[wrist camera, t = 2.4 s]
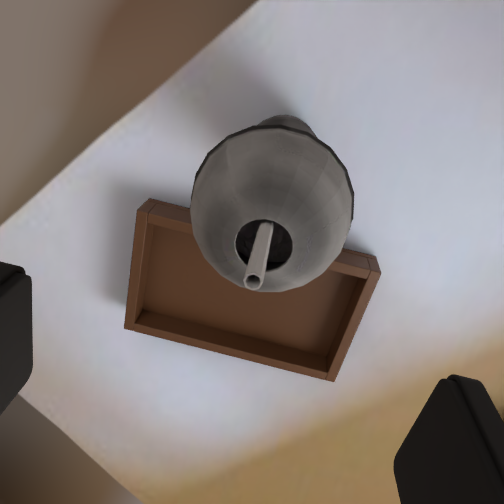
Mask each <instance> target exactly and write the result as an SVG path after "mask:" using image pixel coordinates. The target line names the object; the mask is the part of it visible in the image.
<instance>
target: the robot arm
mask: <svg viewBox="0 0 504 504" xmlns="http://www.w3.org/2000/svg"><path fill="white" fill-rule="evenodd" d="M32 368H33V342H32V281H31V277H30V276H28V275H26V274H25V270H24V268H22V267H20V266H16V265H12V264H8V263H4V262H0V415H1V414H2V412H3V411H4V410H5V409H6V407H7V406H8V405H9V404H10V402H11V401H12V400H13V399H14V397H15V396H16V395H17V394H18V392H19V391H20V390H21V388H22V387H23V386H24V385H25V383H26V382H27V381H28V379H29V377H30V375H31V372H32ZM394 474H395V479H396V483H397V488H398V492H399V497H400V501H401V504H504V423H503V421H502V419H501V417H500V415H499V413H498V411H497V410H496V408H495V406H494V404H493V402H492V400H491V398H490V396H489V395H488V393H487V391H486V389H485V387H484V385H483V384H482V383H481V382H480V381H478V380H475V379H471V378H467V377H463V376H459V375H450V376H449V377H448V378H447V379H441V380H440V381H439V382H438V384H437V385H436V387H435V389H434V390H433V392H432V394H431V396H430V397H429V399H428V401H427V402H426V404H425V406H424V408H423V409H422V411H421V413H420V414H419V416H418V418H417V419H416V421H415V423H414V425H413V426H412V428H411V430H410V431H409V433H408V435H407V437H406V438H405V440H404V442H403V443H402V445H401V447H400V448H399V450H398V452H397V454H396V456H395V459H394Z"/></svg>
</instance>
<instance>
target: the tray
mask: <svg viewBox="0 0 504 504" xmlns="http://www.w3.org/2000/svg"><path fill="white" fill-rule="evenodd" d="M380 275H381V271H380V268H379V265H378V262H377V258H376V256H372V255H368V254H364V253H360V252H356V251H352V250H349V249H345V248H342V250H341V252H340V254H339V255H338V256H337V257H336V259H335V260H334V261H333V262H332V263H331V264H330V266H329V267H328V268H327V269H326V270H325V271H324V273H323V274H321V275H320V276H318V277H316V278H315V279H313V280H312V281H310V282H308V283H307V284H305V285H304V286H300V287H297V288H293V289H290V290H286V291H283V292H258V291H254V290H250V289H247V288H243V287H239V286H238V285H236V284H234V283H233V282H231V281H229V280H228V279H226V278H224V277H223V276H221V275H220V274H219V273H218V272H217V271H216V270H215V269H214V268H213V267H212V266H211V265H210V263H209V262H208V261H207V260H206V259H205V258H204V256H203V254H202V252H201V250H200V248H199V246H198V244H197V242H196V240H195V237H194V235H193V229H192V221H191V214H190V208H186V207H182V206H178V205H174V204H170V203H166V202H162V201H158V200H155V199H151V198H149V199H148V200H147V201H146V202H145V203H144V204H143V205H142V206H141V207H140V208H139V209H138V210H137V215H136V224H135V233H134V242H133V251H132V260H131V269H130V278H129V287H128V296H127V305H126V314H125V323H124V329H128V330H132V331H133V330H134V331H135V332H139V333H143V334H147V335H151V336H155V337H159V338H163V339H167V340H171V341H175V342H178V343H182V344H186V345H190V346H194V347H198V348H202V349H206V350H210V351H214V352H218V353H221V354H225V355H229V356H233V357H237V358H241V359H245V360H249V361H253V362H257V363H261V364H264V365H268V366H272V367H276V368H280V369H284V370H288V371H292V372H296V373H300V374H304V375H307V376H311V377H315V378H319V379H323V380H327V381H331V382H334V381H335V379H336V377H337V374H338V372H339V370H340V368H341V365H342V363H343V361H344V358H345V356H346V354H347V351H348V349H349V347H350V344H351V342H352V340H353V338H354V335H355V333H356V331H357V328H358V326H359V324H360V321H361V319H362V317H363V314H364V312H365V310H366V308H367V305H368V303H369V301H370V298H371V296H372V294H373V291H374V289H375V287H376V284H377V282H378V280H379V278H380Z"/></svg>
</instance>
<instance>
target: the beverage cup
mask: <svg viewBox="0 0 504 504" xmlns="http://www.w3.org/2000/svg"><path fill="white" fill-rule="evenodd" d="M353 210H354V191H353V188H352V185H351V181H350V178H349V175H348V172H347V169H346V167H345V166H344V165H343V163H342V162H341V161H340V159H339V158H338V157H337V155H336V154H335V153H334V151H333V150H332V148H331V147H329V146H328V145H326V144H325V143H323V142H322V141H321V140H319V139H318V138H317V137H316V135H315V134H314V132H313V131H312V130H311V128H310V127H309V126H308V125H307V124H306V123H304V122H303V121H301V120H300V119H298V118H296V117H293V116H289V115H278V116H274V117H271V118H269V119H266V120H264V121H262V122H261V123H260V124H258V125H257V126H251V127H249V128H246V129H244V130H241V131H239V132H236V133H234V134H231V135H228V136H227V137H226V138H225V139H224V140H222V141H221V142H220V143H219V144H218V145H217V146H215V147H214V148H213V149H212V150H211V151H210V152H208V154H207V156H206V157H205V159H204V161H203V163H202V164H201V166H200V168H199V169H198V171H197V173H196V176H195V181H194V186H193V191H192V196H191V205H190V214H191V221H192V229H193V235H194V237H195V240H196V242H197V244H198V246H199V248H200V250H201V252H202V254H203V256H204V258H205V259H206V260H207V261H208V262H209V263H210V265H211V266H212V267H213V268H214V269H215V270H216V271H217V272H218V273H219V274H220V275H221V276H223V277H224V278H226V279H228V280H229V281H231V282H233V283H234V284H236V285H238V286H239V287H243V288H247V289H250V290H254V291H258V292H283V291H286V290H290V289H293V288H297V287H300V286H304V285H305V284H307V283H308V282H310V281H312V280H313V279H315V278H316V277H318V276H320V275H321V274H323V273H324V271H325V270H326V269H327V268H328V267H329V266H330V264H331V263H332V262H333V261H334V260H335V259H336V257H337V256H338V255H339V254H340V252H341V250H342V247H343V245H344V242H345V240H346V237H347V235H348V232H349V230H350V227H351V222H352V220H353Z"/></svg>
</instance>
